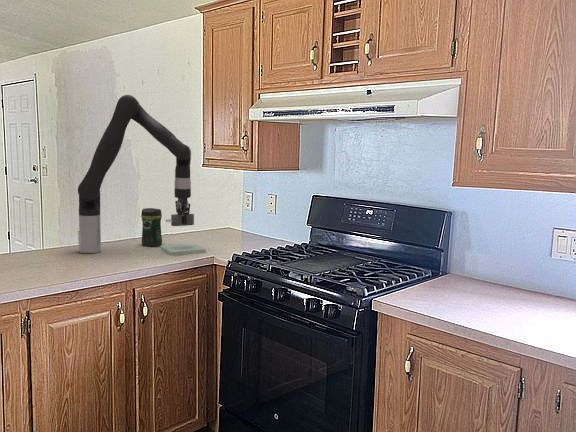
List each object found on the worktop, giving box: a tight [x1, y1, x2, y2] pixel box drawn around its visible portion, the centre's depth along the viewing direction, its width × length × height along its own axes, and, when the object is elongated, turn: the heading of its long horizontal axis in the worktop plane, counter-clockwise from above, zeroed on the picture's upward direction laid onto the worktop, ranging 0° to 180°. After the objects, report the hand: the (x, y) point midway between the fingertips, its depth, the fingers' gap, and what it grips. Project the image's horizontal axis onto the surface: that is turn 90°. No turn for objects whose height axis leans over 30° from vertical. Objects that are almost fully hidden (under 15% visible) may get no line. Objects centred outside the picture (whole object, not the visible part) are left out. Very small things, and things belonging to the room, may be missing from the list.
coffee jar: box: [140, 207, 163, 247], centre depth 260 cm, size 10×8×19 cm
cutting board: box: [159, 242, 207, 257], centre depth 250 cm, size 17×16×2 cm
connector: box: [165, 213, 195, 227], centre depth 247 cm, size 13×4×5 cm, turn 122°
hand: (182, 223), depth 248 cm, fingers closed on connector, 4 cm apart
